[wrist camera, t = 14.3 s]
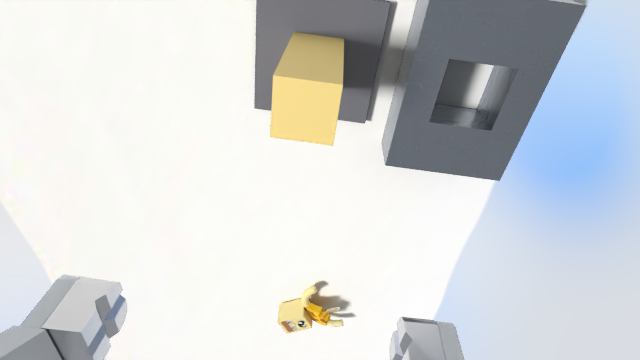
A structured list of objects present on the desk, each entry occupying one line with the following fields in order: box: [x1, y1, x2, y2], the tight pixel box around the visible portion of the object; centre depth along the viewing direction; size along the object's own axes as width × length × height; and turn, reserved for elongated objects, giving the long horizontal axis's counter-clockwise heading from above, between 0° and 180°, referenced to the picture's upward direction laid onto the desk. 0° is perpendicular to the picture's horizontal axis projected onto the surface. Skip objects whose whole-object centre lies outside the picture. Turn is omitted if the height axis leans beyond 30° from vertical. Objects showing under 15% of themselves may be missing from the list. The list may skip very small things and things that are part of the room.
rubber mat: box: [255, 0, 390, 123], centre depth 31 cm, size 10×10×1 cm
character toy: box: [278, 286, 343, 334], centre depth 48 cm, size 8×3×8 cm
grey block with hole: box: [382, 0, 586, 181], centre depth 29 cm, size 14×10×4 cm
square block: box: [270, 32, 344, 146], centre depth 26 cm, size 4×4×10 cm
